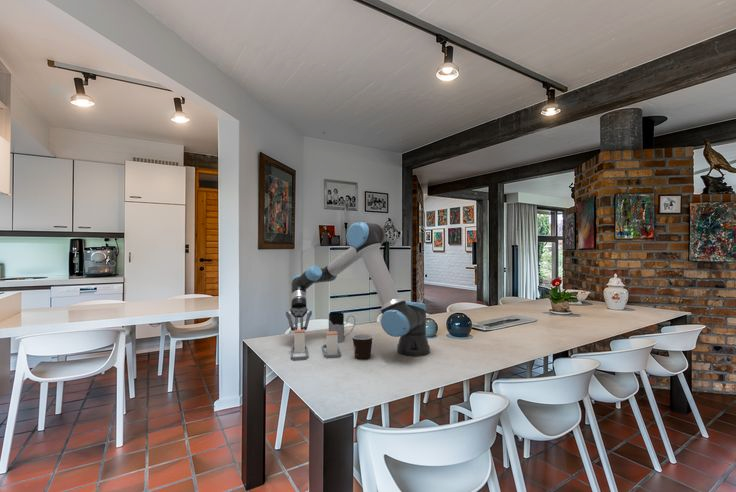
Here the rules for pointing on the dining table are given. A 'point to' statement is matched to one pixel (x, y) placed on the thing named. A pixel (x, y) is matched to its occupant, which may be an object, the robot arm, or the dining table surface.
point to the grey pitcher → (338, 325)
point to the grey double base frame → (308, 355)
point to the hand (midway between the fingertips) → (299, 342)
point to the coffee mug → (362, 346)
